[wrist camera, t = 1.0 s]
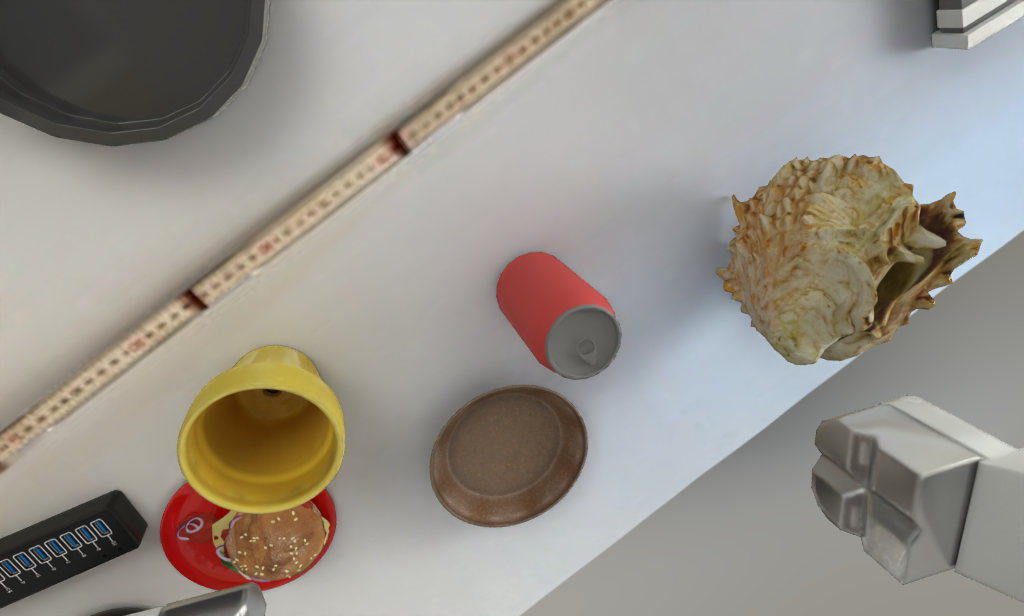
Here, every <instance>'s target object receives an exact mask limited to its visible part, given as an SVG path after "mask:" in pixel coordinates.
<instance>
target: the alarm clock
mask: <svg viewBox="0 0 1024 616" xmlns="http://www.w3.org/2000/svg"><path fill="white" fill-rule="evenodd" d="M936 12H937V26H938V28H941V29H940V30H938V31H936V32H935V33H933V34H932V47H933V48H949V49H970V48H972V47H973V46H975V45H977V44H978V43H980V42H981V41H983V40H985V39H986V38H988V37H989V36H991V35H993V34H994V33H996V32H998V31H999V30H1001V29H1002V28H1004V27H1006V26H1007V25H1009V24H1010V23H1012V22H1014V21H1015V20H1017V19H1019V18H1020V17H1022V16H1023V15H1024V0H939V10H937V11H936Z"/></svg>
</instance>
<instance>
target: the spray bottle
mask: <svg viewBox="0 0 1024 616" xmlns="http://www.w3.org/2000/svg"><path fill="white" fill-rule="evenodd" d="M142 611H145V610H143V609H136V608H119V609H111V610H106V611H102V612H99V613H96V614H93V615H91V616H126V615H130V614H134V613H138V612H142Z"/></svg>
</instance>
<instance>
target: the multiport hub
mask: <svg viewBox="0 0 1024 616" xmlns="http://www.w3.org/2000/svg"><path fill="white" fill-rule="evenodd" d="M146 528H147V523H146V522H145V521H144V519H143V518H142V517H141V516H140V514H139V513H138V512H137V511H136V509H135V508H134V507H133V506H132V504H131V503H130V502H129V501H128V499H127V498H126V497H125V496H124V494H123V493H122V492H121V491H118V490H115V491H112V492H109V493H107V494H105V495H102V496H100V497H98V498H95V499H93V500H91V501H88V502H86V503H84V504H81V505H79V506H77V507H74V508H72V509H70V510H67V511H65V512H63V513H60V514H58V515H56V516H53V517H51V518H49V519H46V520H44V521H42V522H39V523H37V524H35V525H32V526H30V527H27V528H25V529H23V530H20V531H18V532H16V533H13V534H11V535H9V536H6V537H4V538H2V539H0V608H3V607H5V606H7V605H10V604H12V603H14V602H16V601H19V600H21V599H23V598H25V597H28V596H30V595H32V594H34V593H37V592H39V591H41V590H44V589H46V588H48V587H50V586H53V585H55V584H57V583H59V582H62V581H64V580H66V579H68V578H71V577H73V576H75V575H78V574H80V573H82V572H84V571H87V570H89V569H91V568H93V567H96V566H98V565H100V564H103V563H105V562H107V561H109V560H112V559H114V558H116V557H118V556H121V555H123V554H125V553H127V552H130V551H132V550H134V549H136V548H138V547H139V546H140V543H141V541H142V538H143V536H144V533H145V531H146Z"/></svg>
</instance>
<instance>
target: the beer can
mask: <svg viewBox="0 0 1024 616" xmlns="http://www.w3.org/2000/svg"><path fill="white" fill-rule="evenodd" d="M496 298H497V301H498V304H499V308H500V309H501V311H502V312H503V313H504V315H505V316H506V318H507V319H508V320H509V322H510V323H511V324H512V326H513V327H514V329H515V330H516V331H517V333H518V334H519V336H520V337H521V338H522V340H523V341H524V342H525V344H526V345H527V347H528V348H529V349H530V351H531V352H532V353H533V355H534V356H535V357H536V359H537V360H538V362H539V363H540V364H542V365H544V366H545V367H547V368H548V369H550V370H552V371H553V372H555V373H558V374H559V375H561V376H563V377H565V378H569V379H574V380H578V379H587V378H589V377H592V376H594V375H597V374H599V373H600V372H601V371H603V370H604V369H605V368H607V367H608V366H609V365H610V363H611V362H612V361H613V360H614V358H615V357H616V355H617V353H618V350H619V348H620V345H621V336H622V334H621V329H620V324H619V322H618V321H617V319H616V316H615V313H614V311H613V309H612V307H611V306H610V304H609V303H608V301H607V299H606V298H605V297H604V296H602V295H601V294H600V293H599V292H598V291H596V290H595V289H594V288H593V287H591V286H590V285H589V284H588V283H587V282H585V281H584V280H583V279H582V278H580V277H579V276H578V275H577V274H576V273H574V272H573V271H572V270H571V269H570V268H568V267H567V266H566V265H565V264H563V263H562V262H561V261H560V260H558V259H557V258H556V257H554V256H553V255H550V254H546V253H543V252H531V253H527V254H525V255H522V256H519V257H517V258H516V259H515V260H513V261H512V262H511V263H509V264H508V265H507V267H506V268H505V269H504V271H503V272H502V273H501V275H500V278H499V281H498V284H497V294H496Z"/></svg>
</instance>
